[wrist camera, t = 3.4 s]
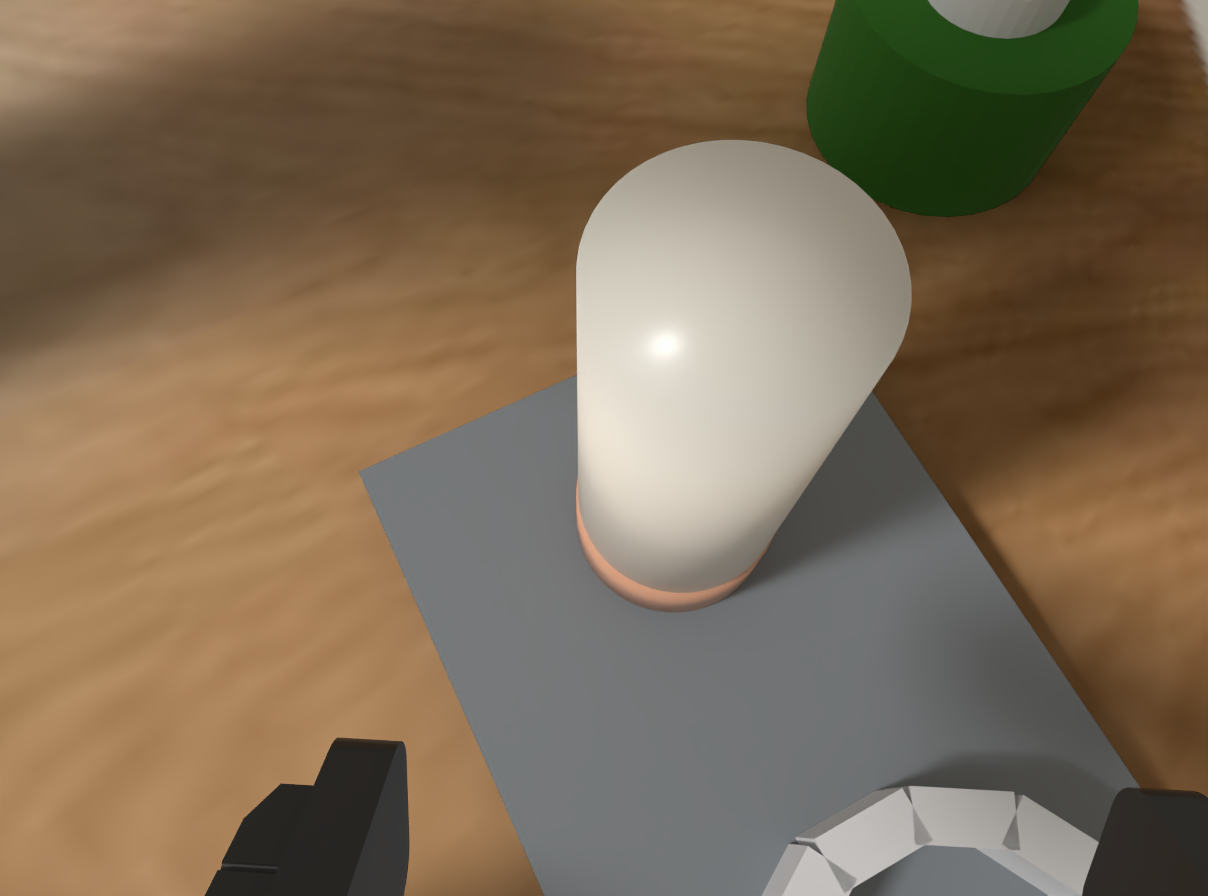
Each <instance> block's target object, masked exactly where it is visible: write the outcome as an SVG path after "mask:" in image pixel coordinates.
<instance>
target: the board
mask: <svg viewBox="0 0 1208 896" xmlns="http://www.w3.org/2000/svg"><path fill="white" fill-rule="evenodd" d="M359 474H360V476H361V478H362V480H363V483H364V485H365V487H366V490H367V492H368V494H369V496H370V499H371V501H372V503H373V506H374V508H375V510H376V512H377V515H378V517H379V519H380V522H381V524H382V526H383V528H384V531H385V533H386V535H387V538H388V540H389V542H390V544H391V547H392V549H393V551H394V553H395V556H396V558H397V560H398V563H399V565H400V567H401V569H402V572H403V574H404V576H405V579H406V581H407V583H408V585H409V588H410V590H411V592H412V595H413V597H414V599H415V601H416V604H417V606H418V608H419V611H420V613H421V615H422V617H423V620H424V622H425V624H426V627H427V629H428V631H429V633H430V636H431V638H432V640H433V643H434V645H435V647H436V649H437V652H438V654H439V656H440V659H441V661H442V663H443V665H444V668H445V670H446V672H447V675H448V677H449V679H450V681H451V684H452V686H453V688H454V691H455V693H456V695H457V697H458V700H459V702H460V704H461V706H462V709H463V711H464V713H465V716H466V718H467V720H468V722H469V725H470V727H471V729H472V732H473V734H474V736H475V738H476V741H477V743H478V745H479V748H480V750H481V752H482V754H483V757H484V759H485V761H486V764H487V766H488V768H489V770H490V773H491V775H492V777H493V780H494V782H495V784H496V786H497V789H498V791H499V793H500V796H501V798H502V800H503V802H504V805H505V807H506V809H507V812H508V814H509V816H510V818H511V821H512V823H513V825H514V828H515V830H516V832H517V834H518V837H519V839H520V841H521V844H522V846H523V848H524V850H525V853H526V855H527V857H528V859H529V862H530V864H531V866H532V869H533V871H534V873H535V875H536V878H537V880H538V882H539V885H540V887H541V889H542V891H543V894H544V896H1082V892H1083V887H1084V883H1085V880H1086V877H1087V874H1088V871H1089V869H1090V866H1091V863H1092V860H1093V857H1094V854H1095V852H1096V849H1097V846H1098V843H1099V840H1100V837H1101V835H1102V832H1103V829H1104V826H1105V823H1106V820H1107V818H1108V815H1109V812H1110V809H1111V806H1112V803H1113V801H1114V799H1115V797H1116V795H1117V794H1118V792H1120V791H1121V790H1122V789H1124V788H1129V787H1132V788H1140V787H1139V785H1138V784H1137V782H1136V781H1135V779H1134V778H1133V776H1132V775H1131V773H1130V772H1129V770H1128V769H1127V767H1126V766H1125V764H1124V763H1123V761H1122V760H1121V758H1120V757H1119V755H1118V754H1117V753H1116V751H1115V750H1114V748H1113V747H1112V745H1111V744H1110V742H1109V741H1108V739H1107V738H1106V736H1105V735H1104V733H1103V732H1102V730H1101V729H1100V727H1099V726H1098V724H1097V723H1096V721H1095V720H1094V719H1093V717H1092V716H1091V714H1090V713H1089V711H1088V710H1087V708H1086V707H1085V705H1084V704H1083V702H1082V701H1081V699H1080V698H1079V696H1078V695H1077V693H1076V692H1075V690H1074V689H1073V687H1072V686H1071V685H1070V683H1069V682H1068V680H1067V679H1066V677H1065V676H1064V674H1063V673H1062V671H1061V670H1060V668H1059V667H1058V665H1057V664H1056V662H1055V661H1054V659H1053V658H1052V656H1051V655H1050V653H1049V652H1048V650H1047V649H1046V648H1045V646H1044V645H1043V643H1042V642H1041V640H1040V639H1039V637H1038V636H1037V634H1036V633H1035V631H1034V630H1033V628H1032V627H1031V625H1030V624H1029V622H1028V621H1027V619H1026V618H1025V616H1024V615H1023V614H1022V612H1021V611H1020V609H1019V608H1018V606H1017V605H1016V603H1015V602H1014V600H1013V599H1012V597H1011V596H1010V594H1009V593H1008V591H1007V590H1006V588H1005V587H1004V585H1003V584H1002V582H1001V581H1000V579H999V578H998V577H997V575H996V574H995V572H994V571H993V569H992V568H991V566H990V565H989V563H988V562H987V560H986V559H985V557H984V556H983V554H982V553H981V551H980V550H979V548H978V547H977V545H976V544H975V543H974V541H973V540H972V538H971V537H970V535H969V534H968V532H967V531H966V529H965V528H964V526H963V525H962V523H961V522H960V520H959V519H958V517H957V516H956V514H955V513H954V511H953V510H952V508H951V507H950V506H949V504H948V503H947V501H946V500H945V498H944V497H943V495H942V494H941V492H940V491H939V489H938V488H937V486H936V485H935V483H934V482H933V480H932V479H931V477H930V476H929V474H928V473H927V472H926V470H925V469H924V467H923V466H922V464H921V463H920V461H919V460H918V458H917V457H916V455H915V454H914V452H913V451H912V449H911V448H910V446H909V445H908V443H907V442H906V440H905V439H904V437H903V436H902V435H901V433H900V432H899V430H898V429H897V427H896V426H895V424H894V423H893V421H892V420H891V418H890V417H889V415H888V414H887V412H886V411H885V409H884V408H883V406H882V405H881V403H880V402H879V401H878V399H877V398H876V396H875V395H874V393H873V392H872V391H871V393H870V394H869V396H868V397H867V399H866V400H865V402H864V403H863V405H862V406H861V407H860V409H859V410H858V412H857V413H856V415H855V416H854V418H853V419H852V421H851V422H850V424H849V425H848V427H847V428H846V430H845V431H844V433H843V434H842V436H841V437H840V438H839V440H838V441H837V443H836V444H835V446H834V447H833V449H832V450H831V452H830V453H829V455H828V456H827V458H826V459H825V461H824V462H823V464H822V465H821V467H820V468H819V469H818V471H817V472H816V474H815V475H814V477H813V478H812V480H811V481H810V483H809V484H808V486H807V487H806V489H805V490H804V492H803V493H802V495H801V496H800V498H799V499H798V500H797V502H796V503H795V505H794V506H793V508H792V509H791V511H790V512H789V514H788V515H787V517H786V518H785V520H784V521H783V523H782V524H781V526H780V527H779V528H778V530H777V531H776V533H775V534H774V536H773V539H772V540H771V542H770V544H769V546H768V548H767V550H766V551H765V553H764V554H763V556H762V557H761V559H760V560H759V562H758V563H757V564H756V566H755V567H754V569H753V570H752V572H751V573H750V575H749V576H748V577H747V579H746V580H745V581H744V582H743V583H742V584H741V585H740V586H739V587H738V588H737V589H736V590H735V591H734V592H732V593H731V594H730V595H729V596H727V597H726V598H724V599H722V600H721V601H719V602H717V603H715V604H712V605H710V606H708V607H705V608H701V609H698V610H694V611H688V612H661V611H654V610H650V609H646V608H643V607H640V606H638V605H635V604H633V603H631V602H629V601H627V600H625V599H623V598H622V597H620V596H618V595H617V594H616V593H614V592H613V591H612V590H610V589H609V588H608V587H607V586H606V585H605V584H604V583H603V582H602V581H601V580H600V579H599V578H598V576H597V575H596V574H595V573H594V571H593V570H592V568H591V567H590V565H589V563H588V562H587V560H586V558H585V555H584V553H583V551H582V548H581V545H580V541H579V538H578V531H577V516H576V487H577V479H578V414H577V375H575V376H573V377H571V378H568V379H566V380H564V381H562V382H559V383H557V384H555V385H553V386H550V387H548V388H546V389H544V390H541V391H539V392H537V393H535V394H532V395H530V396H528V397H526V398H523V399H521V400H519V401H517V402H514V403H512V404H510V405H508V406H505V407H503V408H501V409H499V410H496V411H494V412H492V413H490V414H487V415H485V416H483V417H481V418H478V419H476V420H474V421H471V422H469V423H467V424H465V425H462V426H460V427H458V428H456V429H453V430H451V431H449V432H447V433H444V434H442V435H440V436H438V437H435V438H433V439H431V440H429V441H426V442H424V443H422V444H420V445H417V446H415V447H413V448H411V449H408V450H406V451H404V452H402V453H399V454H397V455H395V456H393V457H390V458H388V459H386V460H384V461H381V462H379V463H377V464H375V465H372V466H370V467H368V468H366V469H363V470H361V471H359Z"/></svg>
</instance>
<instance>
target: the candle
mask: <svg viewBox="0 0 1208 896" xmlns="http://www.w3.org/2000/svg"><path fill="white" fill-rule="evenodd" d="M1137 14H1138V0H836V2H835V5H834V8H833V12H832V15H831V18H830V21H829V24H828V28H827V31H826V34H825V37H824V40H823V44H822V47H821V50H820V53H819V56H818V60H817V63H816V66H815V69H814V72H813V76H812V79H811V82H810V87H809V91H808V95H807V119H808V123H809V127H810V130H811V134H812V137H813V139H814V141H815V143H816V145H817V147H818V148H819V150H820V152H821V154H822V156H823V157H824V158H825V159H826V161H827V162H828V163H829V164H830V166H831V167H833V168H834V169H836V170H838V171H839V172H841V173H842V174H844V175H845V176H846V177H848V178H849V179H850V180H852V181H853V182H854V183H856V184H857V185H858V186H859V187H860V188H861V189H862V190H863V191H864V192H865V193H866V194H868V195H869V196H870V197H871V198H872V199H874V200H876V201H878V202H881V203H883V204H886V205H888V206H891V207H893V208H896V209H898V210H902V211H906V212H911V213H915V214H920V215H926V216H942V217H953V216H962V215H972V214H976V213H979V212H982V211H986V210H989V209H993V208H995V207H997V206H999V205H1001V204H1003V203H1005V202H1007V201H1009V200H1011V199H1012V198H1014V197H1015V196H1016V195H1018V194H1019V193H1020V192H1021V191H1022V190H1023V189H1025V188H1026V187H1027V186H1028V185H1029V184H1030V183H1031V181H1032V180H1033V178H1034V177H1035V175H1036V174H1037V173H1038V171H1039V170H1040V168H1041V167H1042V166H1043V164H1044V163H1045V161H1046V160H1047V159H1048V157H1049V156H1050V154H1051V153H1052V151H1053V150H1054V149H1055V147H1056V146H1057V144H1058V143H1059V142H1060V140H1061V139H1062V137H1063V136H1064V134H1065V133H1066V132H1067V130H1068V129H1069V127H1070V126H1071V125H1072V123H1073V122H1074V120H1075V119H1076V118H1077V116H1078V115H1079V113H1080V112H1081V110H1082V109H1083V108H1084V106H1085V105H1086V103H1087V102H1088V101H1089V99H1090V98H1091V96H1092V95H1093V93H1094V92H1095V91H1096V89H1097V88H1098V86H1099V85H1100V84H1101V82H1102V81H1103V79H1104V78H1105V77H1106V75H1107V74H1108V72H1109V71H1110V69H1111V68H1112V67H1113V65H1114V64H1115V62H1116V61H1117V60H1118V58H1119V57H1120V55H1121V54H1122V52H1123V51H1124V50H1125V48H1126V47H1127V45H1128V44H1129V43H1130V41H1131V38H1132V35H1133V32H1134V29H1135V27H1136V24H1137Z"/></svg>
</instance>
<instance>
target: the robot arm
mask: <svg viewBox="0 0 1208 896" xmlns="http://www.w3.org/2000/svg"><path fill="white" fill-rule="evenodd" d="M408 861H409V817H408V789H407V761H406V749H405V745H404V743H403V742H402V741H386V740H370V739H353V738H336V739H335V740H334V742H333V743H332V745H331V747H330V749H329V751H328V753H327V756H326V758H325V760H324V763H323V765H322V767H321V770H320V772H319V774H318V777H317V779H316V781H315V784H314V786H312V785H295V784H280V785H279V786H278V787H277V788H276V789H275V790H274V791H273V792H272V793H270V794H269V795H268V796H267V797H266V798H265V799H264V800H263V801H262V802H261V803H260V804H259V805H258V806H257V807H256V808H255V809H253V810H252V811H251V812H250V813H249V814H248V815H247V816H246V817H245V818H244V819H243V821H242V823H241V825H240V827H239V829H238V831H237V833H236V835H235V837H234V839H233V841H232V843H231V845H230V847H229V849H228V851H227V853H226V855H225V857H224V859H223V861H222V867H221V870H218V871H217V873H216V874H215V876H214V878H213V880H212V882H211V884H210V886H209V888H208V890H207V892H206V894H205V896H404V891H405V885H406V878H407V871H408ZM1082 896H1208V798H1207V797H1206V796H1205V795H1203V794H1201V793H1199V792H1195V791H1182V790H1165V789H1148V788H1132V787H1129V788H1124V789H1122V790H1121V791H1120V792H1118V794H1117V795H1116V797H1115V799H1114V801H1113V803H1112V806H1111V809H1110V812H1109V815H1108V818H1107V820H1106V823H1105V826H1104V829H1103V832H1102V835H1101V837H1100V840H1099V843H1098V846H1097V849H1096V852H1095V854H1094V857H1093V860H1092V863H1091V866H1090V869H1089V871H1088V874H1087V877H1086V880H1085V883H1084V887H1083V892H1082Z"/></svg>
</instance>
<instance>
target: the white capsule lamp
mask: <svg viewBox="0 0 1208 896" xmlns="http://www.w3.org/2000/svg"><path fill="white" fill-rule="evenodd" d="M576 302H577V414H578V479H577V487H576V516H577V531H578V538H579V541H580V545H581V548H582V551H583V553H584V555H585V558H586V560H587V562H588V563H589V565H590V567H591V568H592V570H593V571H594V573H595V574H596V575H597V576H598V578H599V579H600V580H601V581H602V582H603V583H604V584H605V585H606V586H607V587H608V588H609V589H610V590H612V591H613V592H614V593H616V594H617V595H618V596H620V597H622V598H623V599H625V600H627V601H629V602H631V603H633V604H635V605H638V606H640V607H643V608H646V609H650V610H654V611H661V612H688V611H694V610H698V609H701V608H705V607H708V606H710V605H712V604H715V603H717V602H719V601H721V600H722V599H724V598H726V597H727V596H729V595H730V594H731V593H732V592H734V591H735V590H736V589H737V588H738V587H739V586H740V585H741V584H742V583H743V582H744V581H745V580H746V579H747V577H748V576H749V575H750V573H751V572H752V570H753V569H754V567H755V566H756V564H757V563H758V562H759V560H760V559H761V557H762V556H763V554H764V553H765V551H766V550H767V548H768V546H769V544H770V542H771V540H772V539H773V536H774V534H775V533H776V531H777V530H778V528H779V527H780V526H781V524H782V523H783V521H784V520H785V518H786V517H787V515H788V514H789V512H790V511H791V509H792V508H793V506H794V505H795V503H796V502H797V500H798V499H799V498H800V496H801V495H802V493H803V492H804V490H805V489H806V487H807V486H808V484H809V483H810V481H811V480H812V478H813V477H814V475H815V474H816V472H817V471H818V469H819V468H820V467H821V465H822V464H823V462H824V461H825V459H826V458H827V456H828V455H829V453H830V452H831V450H832V449H833V447H834V446H835V444H836V443H837V441H838V440H839V438H840V437H841V436H842V434H843V433H844V431H845V430H846V428H847V427H848V425H849V424H850V422H851V421H852V419H853V418H854V416H855V415H856V413H857V412H858V410H859V409H860V407H861V406H862V405H863V403H864V402H865V400H866V399H867V397H868V396H869V394H870V393H871V391H872V390H873V388H874V387H875V385H876V384H877V382H878V381H879V379H880V378H881V377H882V375H883V374H884V372H885V371H886V369H887V368H888V366H889V365H890V363H891V362H892V360H893V359H894V357H895V355H896V353H897V351H898V349H899V347H900V345H901V343H902V341H903V339H904V336H905V332H906V329H907V326H908V323H909V317H910V310H911V304H912V291H911V278H910V272H909V266H908V262H907V259H906V256H905V253H904V249H903V247H902V244H901V242H900V240H899V238H898V236H897V234H896V232H895V230H894V228H893V226H892V225H891V223H890V222H889V220H888V219H887V217H886V216H885V214H884V213H883V211H882V210H881V209H880V208H879V207H878V206H877V204H876V203H875V202H874V201H873V200H872V198H871V197H870V196H869V195H868V194H866V193H865V192H864V191H863V190H862V189H861V188H860V187H859V186H858V185H857V184H856V183H854V182H853V181H852V180H850V179H849V178H848V177H846V176H845V175H844V174H842V173H841V172H839V171H838V170H836V169H834V168H833V167H831V166H829V165H827V164H826V163H824V162H822V161H820V160H818V159H816V158H813V157H811V156H809V155H807V154H804V153H802V152H799V151H796V150H793V149H790V148H786V147H783V146H779V145H774V144H769V143H765V142H757V141H748V140H717V141H707V142H700V143H695V144H691V145H686V146H682V147H679V148H676V149H673V150H670V151H667V152H664V153H662V154H660V155H658V156H656V157H653V158H651V159H649V160H647V161H645V162H644V163H642V164H641V165H639V166H637V167H636V168H634V169H633V170H631V171H630V172H629V173H627V174H626V175H625V176H624V177H623V178H621V179H620V180H619V181H618V182H617V183H615V185H614V186H613V187H612V188H611V189H610V190H609V191H608V192H607V193H606V194H605V195H604V197H603V198H602V199H601V201H600V202H599V204H598V205H597V207H596V208H595V210H594V211H593V213H592V215H591V217H590V219H589V221H588V223H587V225H586V227H585V229H584V232H583V235H582V239H581V242H580V245H579V250H578V257H577V263H576Z"/></svg>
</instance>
